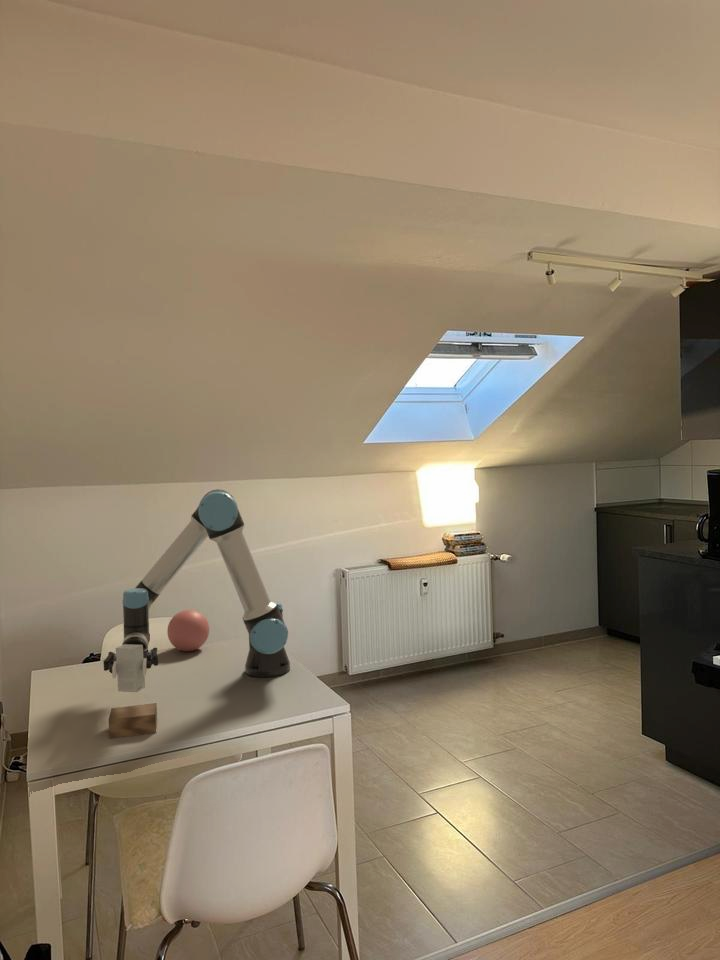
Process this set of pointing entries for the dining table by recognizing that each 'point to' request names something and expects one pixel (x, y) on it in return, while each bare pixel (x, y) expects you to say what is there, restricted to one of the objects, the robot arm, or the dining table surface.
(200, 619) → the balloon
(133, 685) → the skincare box
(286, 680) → the dining table surface
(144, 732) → the block
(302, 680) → the dining table surface
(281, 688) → the dining table surface
